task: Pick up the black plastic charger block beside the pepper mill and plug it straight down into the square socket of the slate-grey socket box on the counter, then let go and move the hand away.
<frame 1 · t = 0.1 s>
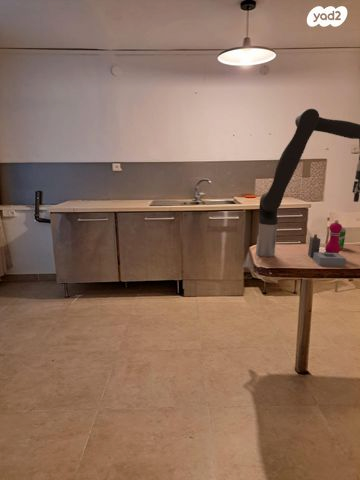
hand: (359, 202, 158), 29 cm above the table, tool pointing down, fingers open, 8 cm apart
soda can: (336, 247, 185), on the table
pepper mill: (331, 257, 166), on the table
socket box: (328, 262, 156), on the table
charger: (313, 256, 167), on the table
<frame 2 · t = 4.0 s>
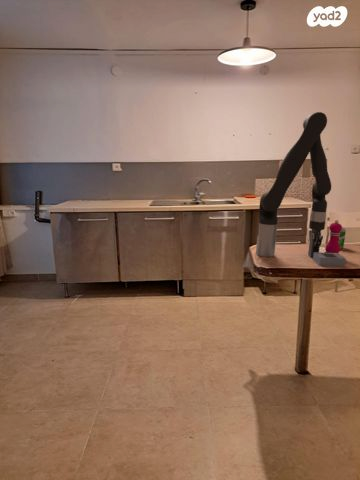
hand: (313, 251, 166), 3 cm above the table, tool pointing down, fingers closed on charger, 4 cm apart
charger: (313, 256, 167), on the table, touching gripper
everything else where it was.
when the fingers open (5 cm above the table, at t = 10.0 s): charger drops 2 cm, resting in socket box.
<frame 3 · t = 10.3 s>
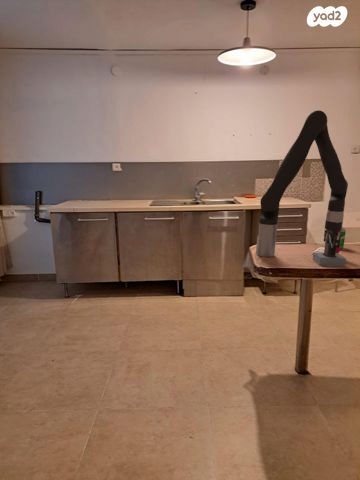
hand: (329, 253, 155), 5 cm above the table, tool pointing down, fingers open, 6 cm apart
charger: (328, 263, 156), resting in socket box
everything else where it was.
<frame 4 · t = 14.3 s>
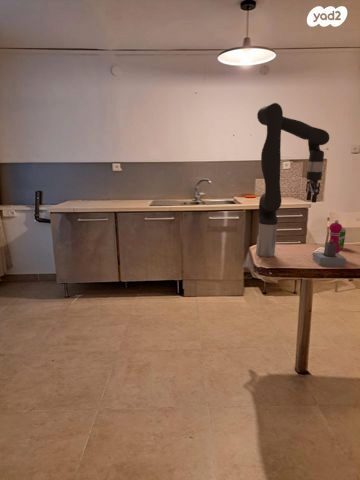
hand: (311, 201, 169), 28 cm above the table, tool pointing down, fingers open, 8 cm apart
nothing on the table moved.
at the end: charger 0.1 cm off-centre on the socket box, point 0.0 cm above the socket box's base; charger tilted 0°; the gripper is holding nothing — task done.
